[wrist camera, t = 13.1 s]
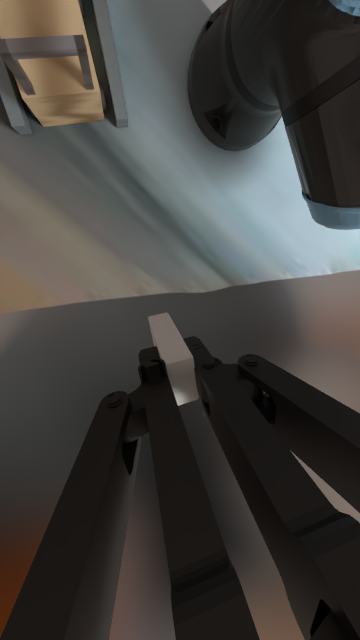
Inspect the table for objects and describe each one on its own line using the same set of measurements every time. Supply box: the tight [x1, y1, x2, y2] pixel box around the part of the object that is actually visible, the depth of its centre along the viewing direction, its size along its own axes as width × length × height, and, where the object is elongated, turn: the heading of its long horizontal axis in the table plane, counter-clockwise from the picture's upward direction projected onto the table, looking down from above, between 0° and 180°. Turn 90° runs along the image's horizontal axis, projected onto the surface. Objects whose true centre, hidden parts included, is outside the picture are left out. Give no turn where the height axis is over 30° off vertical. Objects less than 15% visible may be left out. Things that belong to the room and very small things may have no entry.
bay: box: [0, 0, 128, 135], centre depth 26 cm, size 14×14×2 cm
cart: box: [0, 0, 107, 127], centre depth 21 cm, size 9×12×13 cm
